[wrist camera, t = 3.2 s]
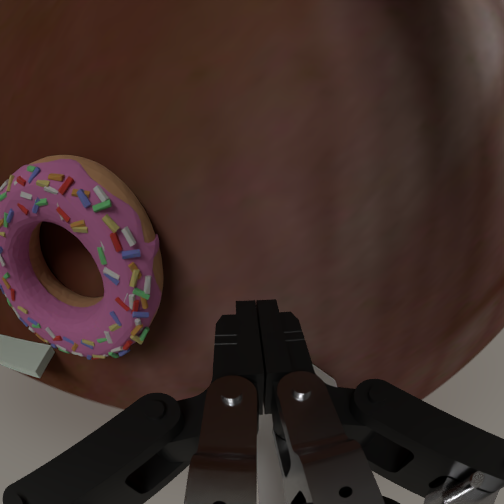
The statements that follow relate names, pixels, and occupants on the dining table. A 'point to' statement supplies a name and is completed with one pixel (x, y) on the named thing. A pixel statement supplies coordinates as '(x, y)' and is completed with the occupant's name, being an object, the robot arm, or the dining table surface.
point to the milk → (273, 456)
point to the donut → (96, 242)
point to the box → (25, 355)
